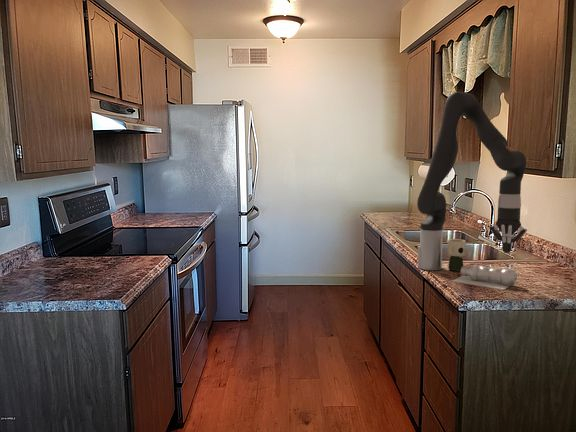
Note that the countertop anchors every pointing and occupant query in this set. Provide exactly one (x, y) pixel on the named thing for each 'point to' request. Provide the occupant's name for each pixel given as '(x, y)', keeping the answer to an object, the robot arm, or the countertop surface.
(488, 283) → the mat
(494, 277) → the plastic bottle
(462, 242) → the character mug
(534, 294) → the countertop surface
